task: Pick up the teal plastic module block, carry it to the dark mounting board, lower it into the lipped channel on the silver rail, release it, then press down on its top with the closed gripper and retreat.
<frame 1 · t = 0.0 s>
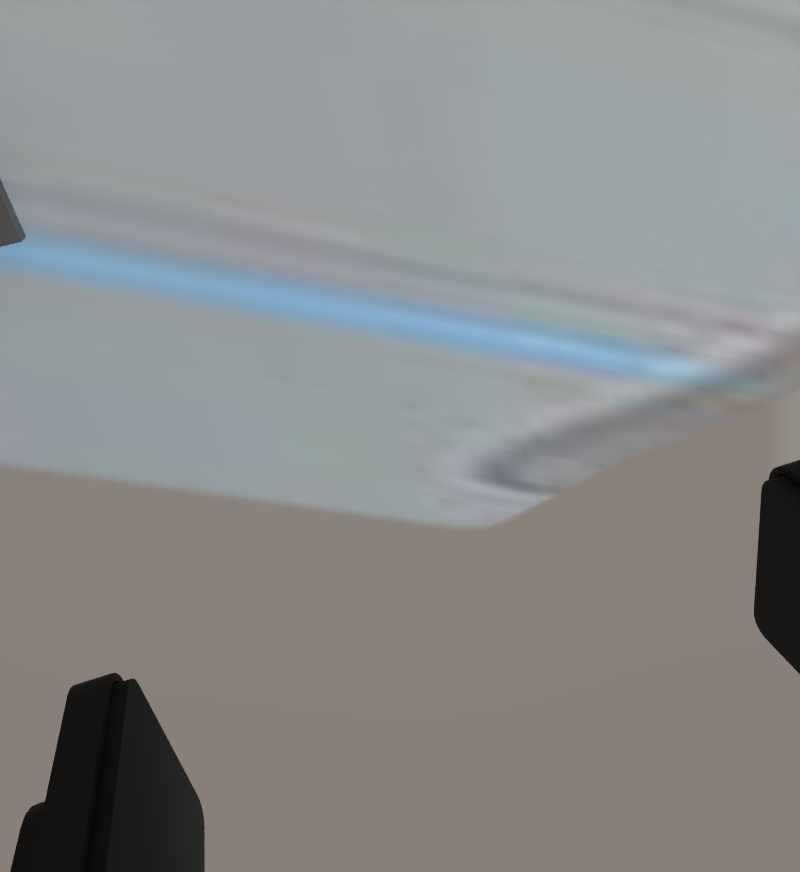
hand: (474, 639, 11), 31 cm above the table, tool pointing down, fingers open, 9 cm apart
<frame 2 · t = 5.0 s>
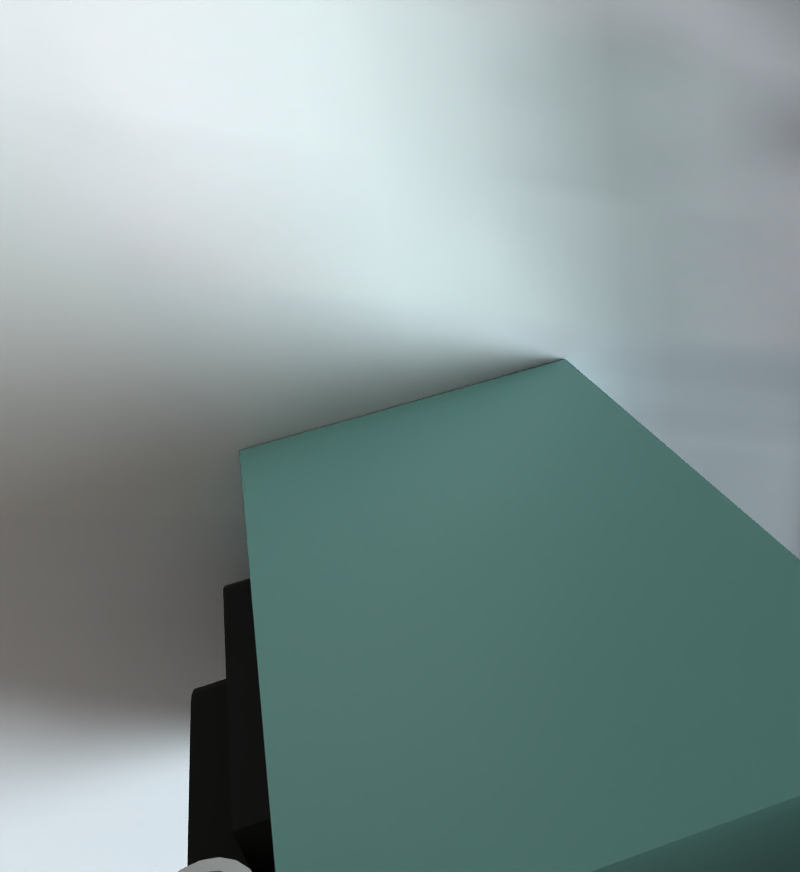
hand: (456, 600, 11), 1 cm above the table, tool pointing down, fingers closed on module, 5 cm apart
module: (439, 560, 12), on the table, touching gripper
when the fingers open (4 cm above the table, at t = 10.7 s): module stays where it is, resting on rail board.
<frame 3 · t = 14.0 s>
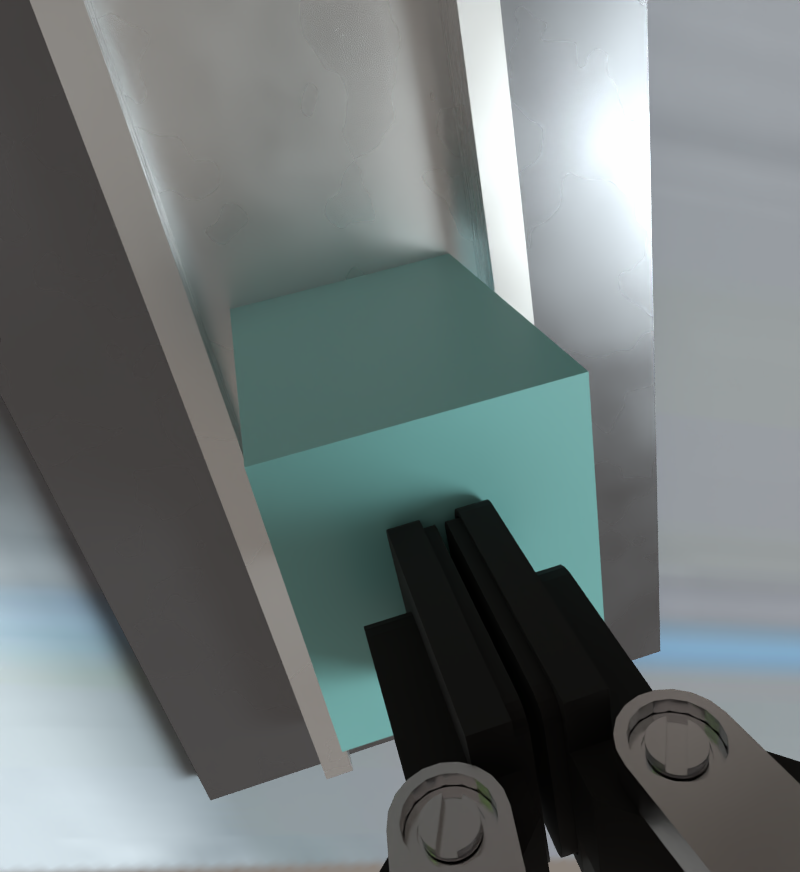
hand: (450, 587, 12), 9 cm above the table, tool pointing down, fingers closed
module: (368, 400, 18), point 2 cm above the table, touching gripper, rail board
rail board: (354, 368, 20), on the table
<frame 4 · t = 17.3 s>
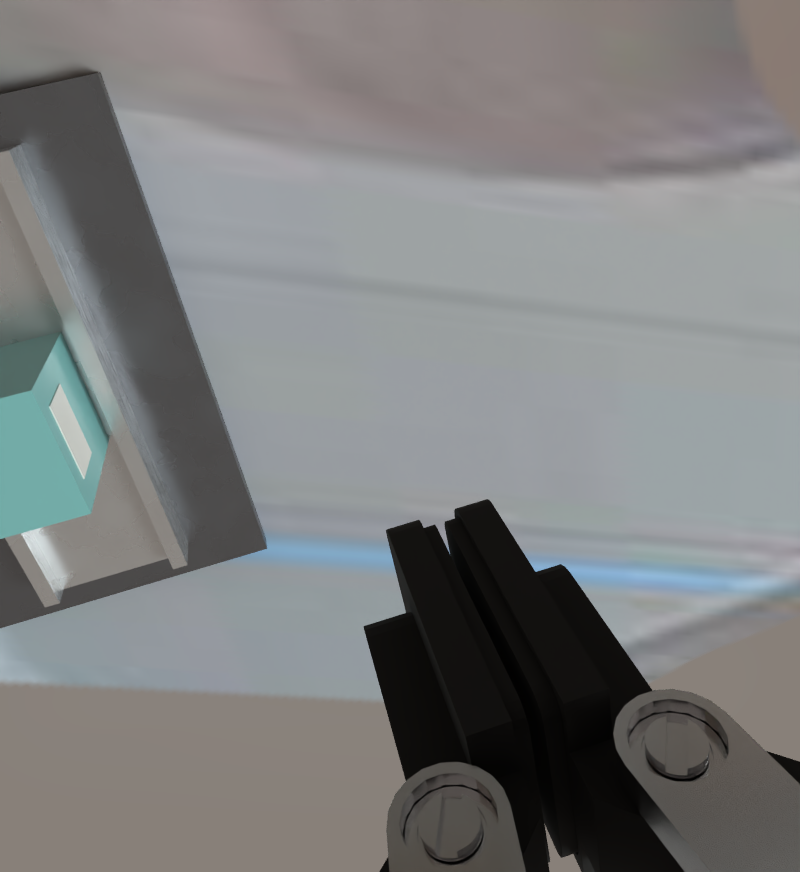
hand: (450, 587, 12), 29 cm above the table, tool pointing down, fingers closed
module: (34, 401, 36), point 2 cm above the table, touching rail board
rail board: (42, 385, 38), on the table
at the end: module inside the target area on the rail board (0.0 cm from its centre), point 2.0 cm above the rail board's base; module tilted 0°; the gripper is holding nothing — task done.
